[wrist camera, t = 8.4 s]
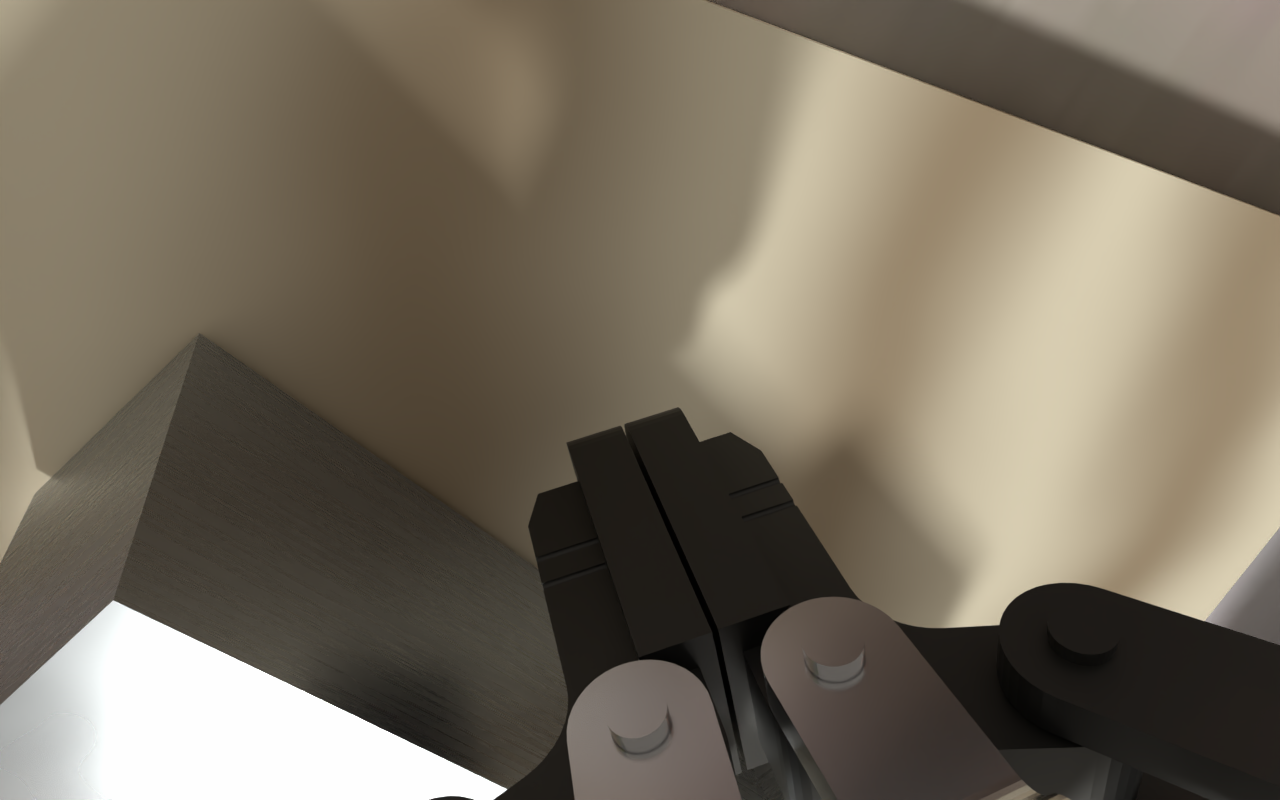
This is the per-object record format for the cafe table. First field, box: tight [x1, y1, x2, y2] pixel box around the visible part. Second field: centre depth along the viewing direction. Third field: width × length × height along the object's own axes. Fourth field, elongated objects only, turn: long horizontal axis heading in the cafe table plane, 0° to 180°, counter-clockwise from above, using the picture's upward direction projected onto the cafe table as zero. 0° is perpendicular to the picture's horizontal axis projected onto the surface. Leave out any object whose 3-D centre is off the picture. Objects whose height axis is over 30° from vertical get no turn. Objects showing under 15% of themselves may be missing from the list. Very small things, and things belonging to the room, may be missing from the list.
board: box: [0, 0, 1280, 628], centre depth 17 cm, size 24×21×1 cm
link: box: [0, 333, 784, 800], centre depth 13 cm, size 16×5×4 cm, turn 39°
